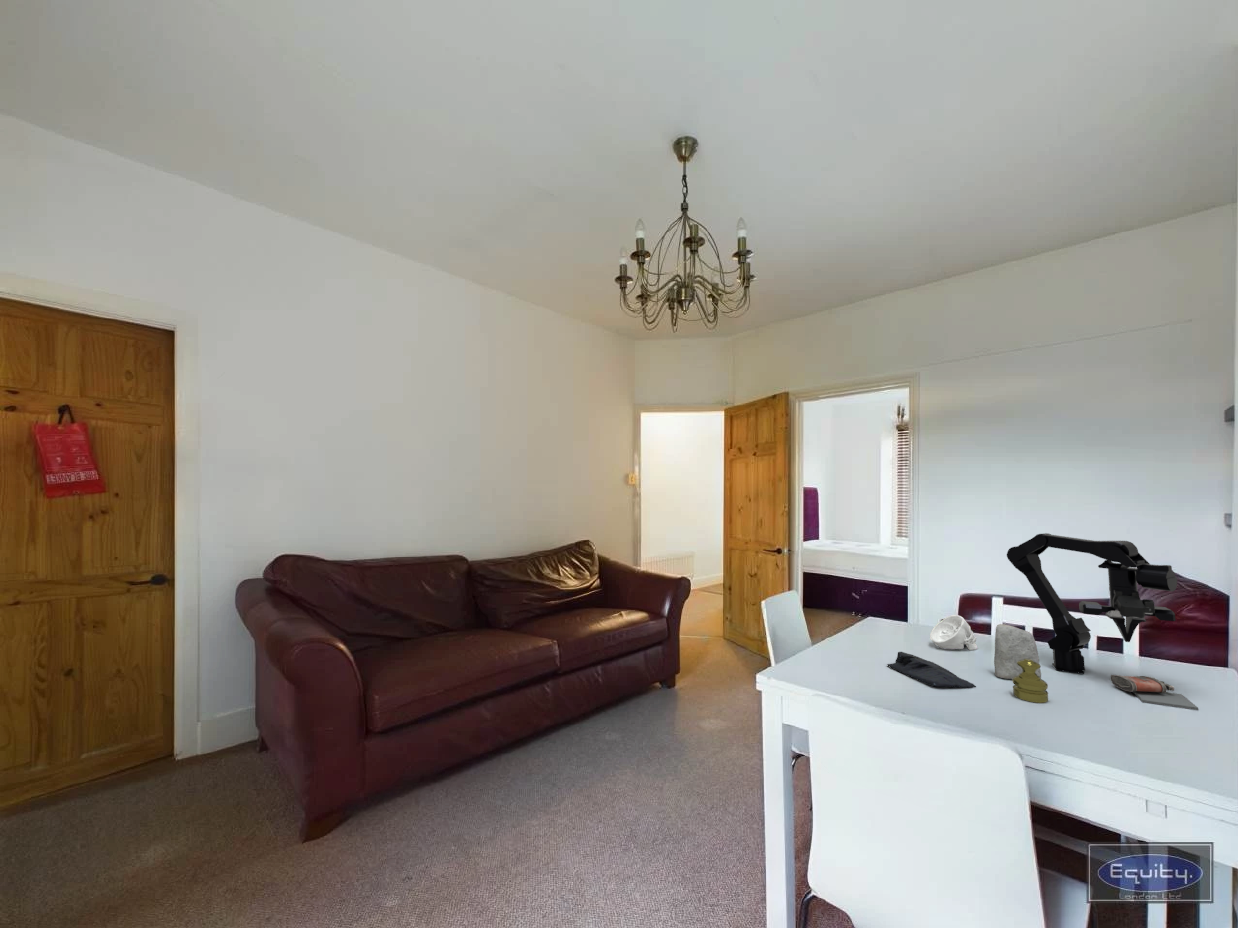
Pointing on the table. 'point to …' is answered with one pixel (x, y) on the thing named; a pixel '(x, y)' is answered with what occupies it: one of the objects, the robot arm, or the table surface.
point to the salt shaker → (1030, 683)
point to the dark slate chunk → (928, 672)
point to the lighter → (1140, 684)
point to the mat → (1165, 699)
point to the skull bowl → (953, 634)
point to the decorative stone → (1013, 650)
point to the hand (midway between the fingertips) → (1127, 641)
